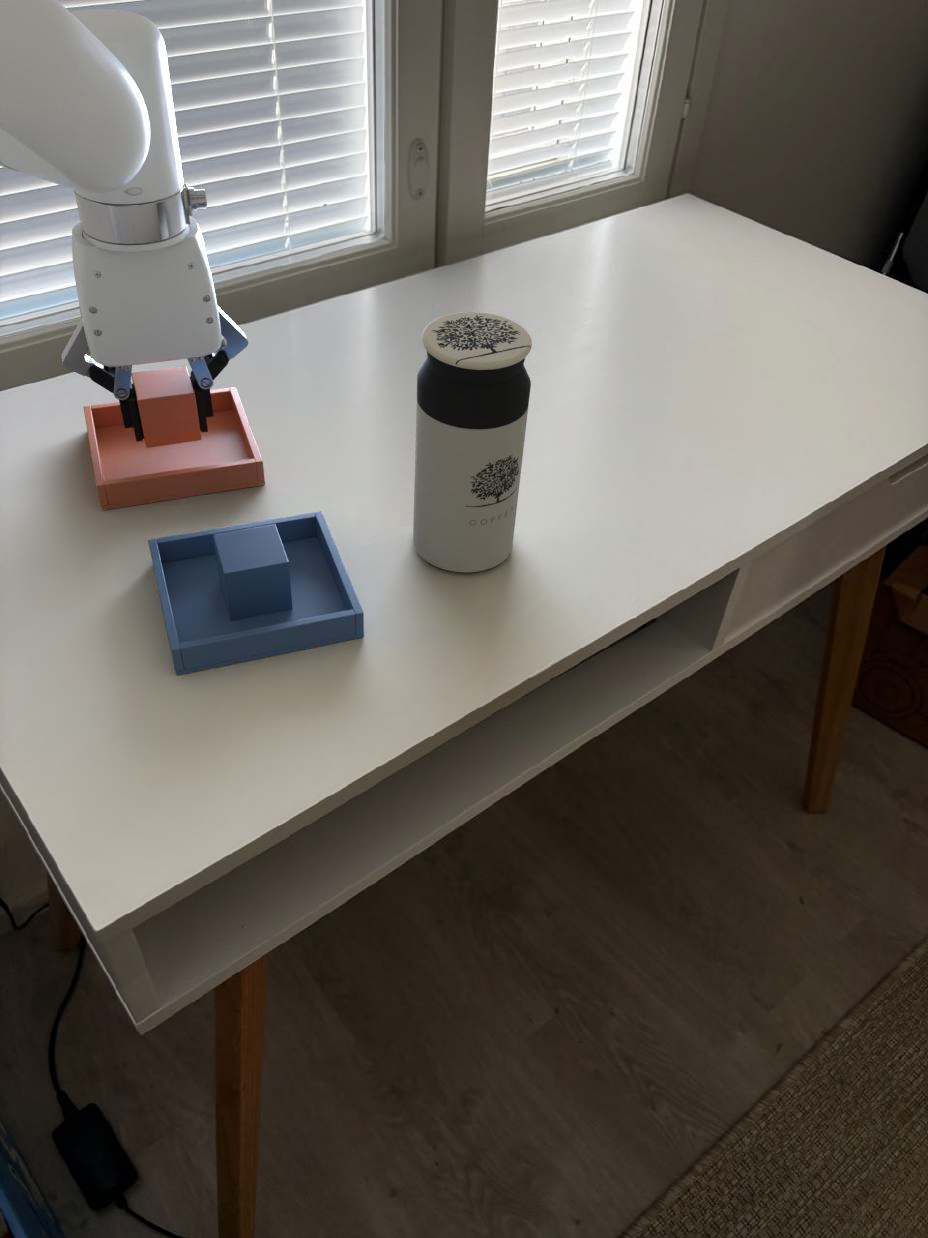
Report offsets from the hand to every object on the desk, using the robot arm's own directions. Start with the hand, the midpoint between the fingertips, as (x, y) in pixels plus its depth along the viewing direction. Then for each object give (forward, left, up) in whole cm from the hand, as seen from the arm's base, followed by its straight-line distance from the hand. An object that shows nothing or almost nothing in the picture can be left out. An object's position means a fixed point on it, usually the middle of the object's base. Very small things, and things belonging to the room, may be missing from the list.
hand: (169, 426), depth 85 cm
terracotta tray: (0, 0, -3) cm, 3 cm away
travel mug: (+20, -18, -3) cm, 27 cm away
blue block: (+3, -20, -3) cm, 20 cm away
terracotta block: (0, 0, 0) cm, 0 cm away
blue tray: (+3, -20, -3) cm, 20 cm away
